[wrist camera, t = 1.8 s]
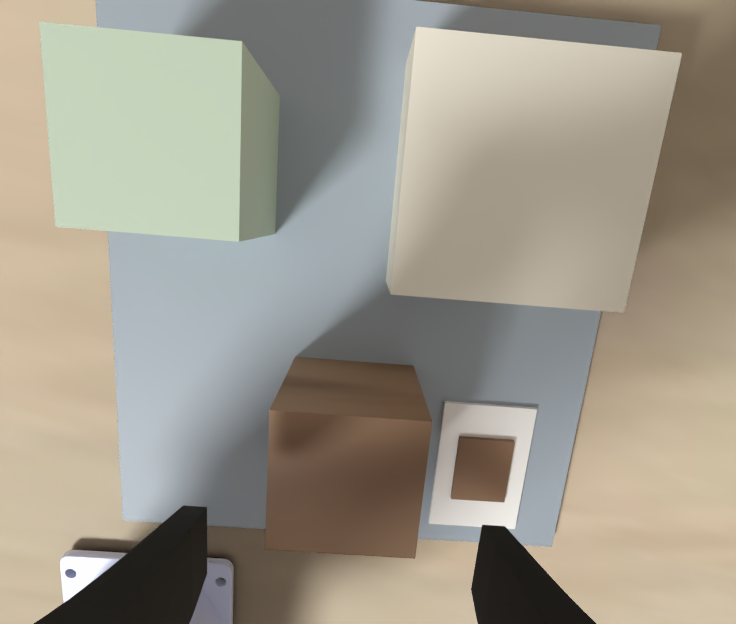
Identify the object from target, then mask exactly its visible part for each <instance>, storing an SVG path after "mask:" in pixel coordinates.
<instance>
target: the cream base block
mask: <svg viewBox="0 0 736 624" xmlns="http://www.w3.org/2000/svg"><path fill="white" fill-rule="evenodd" d="M681 57H682V53H678V52H667V51H657V50H647V49H637V48H627V47H617V46H607V45H597V44H587V43H577V42H567V41H557V40H546V39H536V38H526V37H516V36H506V35H496V34H486V33H476V32H466V31H456V30H446V29H436V28H425V27H416V30H415V33H414V37H413V40H412V44H411V47H410V51H409V54H408V58H407V61H406V69H405V80H404V91H403V101H402V112H401V123H400V134H399V144H398V155H397V166H396V177H395V187H394V198H393V209H392V220H391V230H390V241H389V252H388V262H387V273H386V283H387V286H388V289H389V291H390V294H391V295H403V296H416V297H428V298H441V299H453V300H466V301H479V302H491V303H504V304H516V305H529V306H541V307H554V308H567V309H579V310H592V311H604V312H617V313H624V312H625V308H626V303H627V299H628V294H629V290H630V285H631V281H632V276H633V272H634V268H635V263H636V259H637V254H638V250H639V245H640V241H641V236H642V232H643V227H644V223H645V218H646V214H647V209H648V205H649V200H650V196H651V191H652V187H653V182H654V178H655V173H656V169H657V164H658V160H659V155H660V151H661V146H662V142H663V137H664V133H665V128H666V124H667V119H668V115H669V111H670V106H671V102H672V97H673V93H674V88H675V84H676V79H677V75H678V70H679V66H680V61H681Z"/></svg>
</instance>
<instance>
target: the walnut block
mask: <svg viewBox="0 0 736 624" xmlns="http://www.w3.org/2000/svg"><path fill="white" fill-rule="evenodd" d="M431 429H432V419H431V416H430V413H429V410H428V407H427V404H426V401H425V398H424V395H423V392H422V389H421V386H420V383H419V380H418V377H417V375H416V372H415V369H414V366H413V365H400V364H386V363H373V362H360V361H346V360H333V359H319V358H306V357H295V358H294V360H293V362H292V364H291V366H290V368H289V370H288V373H287V375H286V377H285V379H284V381H283V383H282V385H281V387H280V389H279V391H278V393H277V396H276V398H275V400H274V402H273V404H272V406H271V408H270V411H269V440H268V470H267V499H266V529H265V549H266V550H282V551H299V552H315V553H332V554H348V555H365V556H381V557H398V558H414V559H415V555H416V547H417V539H418V531H419V524H420V516H421V508H422V500H423V492H424V484H425V476H426V469H427V461H428V453H429V445H430V437H431Z"/></svg>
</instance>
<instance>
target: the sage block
mask: <svg viewBox="0 0 736 624" xmlns="http://www.w3.org/2000/svg"><path fill="white" fill-rule="evenodd" d="M39 26H40V38H41V51H42V63H43V76H44V89H45V101H46V114H47V127H48V139H49V152H50V164H51V177H52V190H53V202H54V215H55V227H66V228H78V229H90V230H102V231H114V232H126V233H139V234H151V235H163V236H175V237H187V238H199V239H211V240H223V241H236V242H240V241H245V240H250V239H254V238H259V237H264V236H268V235H273V234H275V227H276V198H277V168H278V139H279V109H280V95H279V94H278V92H277V91H276V90H275V88H274V87H273V85H272V84H271V82H270V81H269V79H268V78H267V77H266V75H265V74H264V72H263V71H262V69H261V68H260V66H259V65H258V64H257V62H256V61H255V59H254V58H253V56H252V55H251V53H250V52H249V51H248V49H247V48H246V46H245V45H244V43H243V42H242V41H234V40H224V39H214V38H203V37H193V36H183V35H172V34H162V33H152V32H142V31H131V30H121V29H111V28H100V27H90V26H80V25H69V24H59V23H49V22H39Z"/></svg>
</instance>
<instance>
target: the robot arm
mask: <svg viewBox="0 0 736 624" xmlns="http://www.w3.org/2000/svg"><path fill="white" fill-rule="evenodd" d="M60 570H61V581H62V592H63V604H62V605H60V606H59V607H57V608H56V609H55V610H53V611H52V612H50V613H49V614H48V615H46V616H45V617H43V618H42V619H40V620H39V621H37V622H36V623H34V624H233V576H234V568H233V564H232V563H231V562H230V561H229V560H227V559H221V558H207V507H200V506H185V505H183V506H182V507H181V508H180V509H178V510H177V511H176V512H175V513H174V514H172V515H171V516H170V517H169V518H168V519H167V520H166V521H164V522H163V523H162V524H161V525H160V526H159V527H157V528H156V529H155V530H154V531H153V532H152V533H151V534H149V535H148V536H147V537H146V538H145V539H144V540H142V541H141V542H140V543H139V544H138V545H137V546H135V547H134V548H133V549H132V550H131V551H129V552H128V553H120V552H104V551H87V550H70V551H68V552H66V553H65V555H64V556H63V557H62V558H61V559H60ZM220 578H224V579H225V580H222V579H220ZM471 590H472V595H473V601H474V606H475V612H476V617H477V622H478V624H596V623H595V622H594V621H593V620H592V619H591V618H590V617H589V616H588V615H587V614H586V613H585V612H584V611H583V610H582V609H581V608H580V607H579V606H578V605H577V604H576V603H575V602H574V601H573V600H572V599H571V598H570V597H569V596H568V595H567V594H566V593H565V592H564V591H563V590H562V589H561V588H560V586H559V585H558V584H557V583H556V582H555V581H554V580H553V579H552V578H551V577H550V576H549V575H548V574H547V572H546V571H545V570H544V569H543V568H542V567H541V566H540V565H539V564H538V563H537V561H536V560H535V559H534V558H533V557H532V556H531V555H530V554H529V552H528V551H527V550H526V549H525V548H524V547H523V546H522V545H521V543H520V542H519V541H518V540H517V539H516V538H515V537H514V536H513V534H512V533H511V532H510V531H509V530H508V529H507V528H506V527H505V526H494V525H482V528H481V534H480V540H479V546H478V552H477V558H476V564H475V570H474V576H473V582H472V588H471Z"/></svg>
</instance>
